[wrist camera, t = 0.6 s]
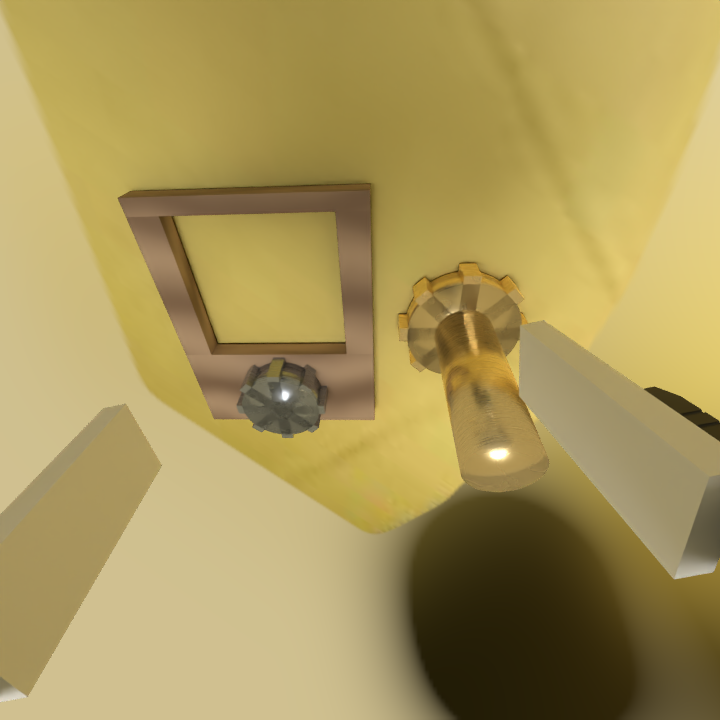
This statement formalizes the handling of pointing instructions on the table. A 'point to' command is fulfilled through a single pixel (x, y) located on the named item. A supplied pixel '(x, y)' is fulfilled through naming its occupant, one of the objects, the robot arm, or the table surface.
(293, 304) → the table surface
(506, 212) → the table surface
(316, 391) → the sun gear
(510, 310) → the planet gear
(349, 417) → the plate
